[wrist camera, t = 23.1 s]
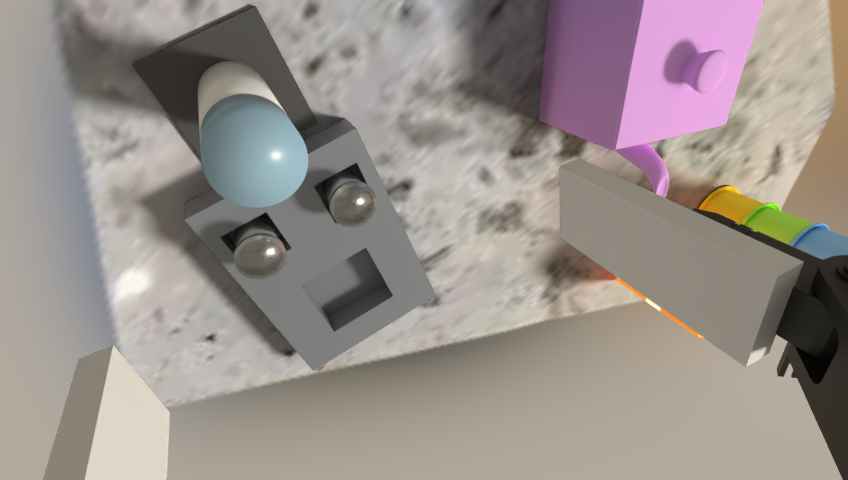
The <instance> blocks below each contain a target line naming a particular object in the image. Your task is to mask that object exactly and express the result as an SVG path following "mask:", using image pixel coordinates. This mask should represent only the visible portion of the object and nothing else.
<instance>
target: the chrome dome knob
mask: <svg viewBox="0 0 848 480" xmlns="http://www.w3.org/2000/svg"><path fill="white" fill-rule="evenodd" d="M234 239H235V245H236V248H235V251H234V263H235V266H236V268H237V270H238V271H239V272H240V273H241V274H242V275H244V276H246V277H248V278H251V279H266V278H269V277H272V276H274V275H275V274H277V273H278V272H279V271H280V270H281V269H282V268H283V267H284V265H285V262H286V259H287V253H286V249H285V247H284V245H283V243H282V242H281V240H279V239H278V237H277V234H276V231H275V228H274V226H273V225H272V223H271V222H270V221H268V220H266V219H264V218H261V217H256V218H254V219H253V220H251V221H249V222H247V223H245V224H243V225H242V226H240V227H238V228H236V229H235V231H234Z"/></svg>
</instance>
